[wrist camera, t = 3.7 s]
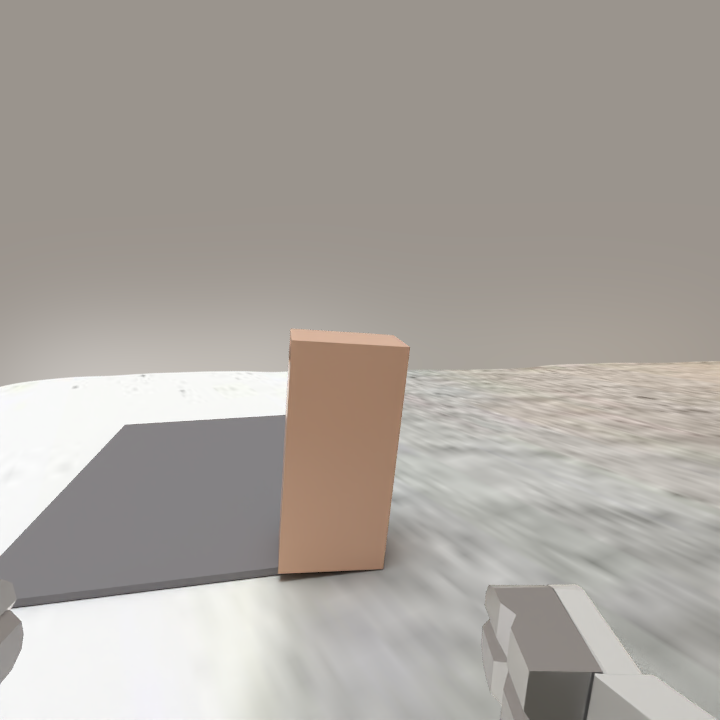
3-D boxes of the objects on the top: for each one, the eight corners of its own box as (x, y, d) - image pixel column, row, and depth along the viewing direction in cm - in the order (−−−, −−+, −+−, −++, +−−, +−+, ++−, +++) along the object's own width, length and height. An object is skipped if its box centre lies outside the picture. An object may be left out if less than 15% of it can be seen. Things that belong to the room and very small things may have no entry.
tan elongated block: (370, 530, 23) (392, 334, 21) (383, 568, 20) (410, 347, 18) (278, 532, 22) (290, 328, 20) (278, 573, 19) (291, 340, 17)
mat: (287, 418, 39) (287, 414, 39) (290, 572, 20) (290, 565, 20) (125, 429, 37) (125, 424, 37) (-46, 614, 18) (-48, 606, 18)
